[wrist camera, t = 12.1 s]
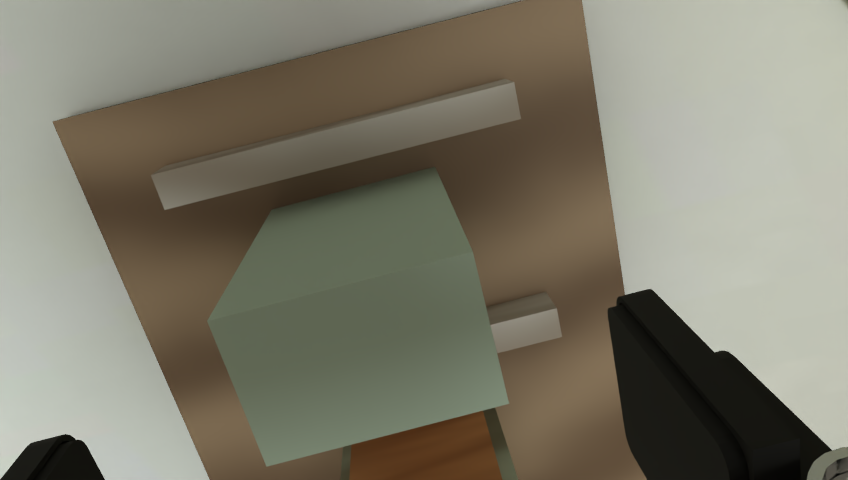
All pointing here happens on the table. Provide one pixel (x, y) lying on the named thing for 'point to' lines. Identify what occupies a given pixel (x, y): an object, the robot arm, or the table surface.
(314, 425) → the sage green box
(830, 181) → the table surface
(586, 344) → the wooden base board
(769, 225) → the table surface
